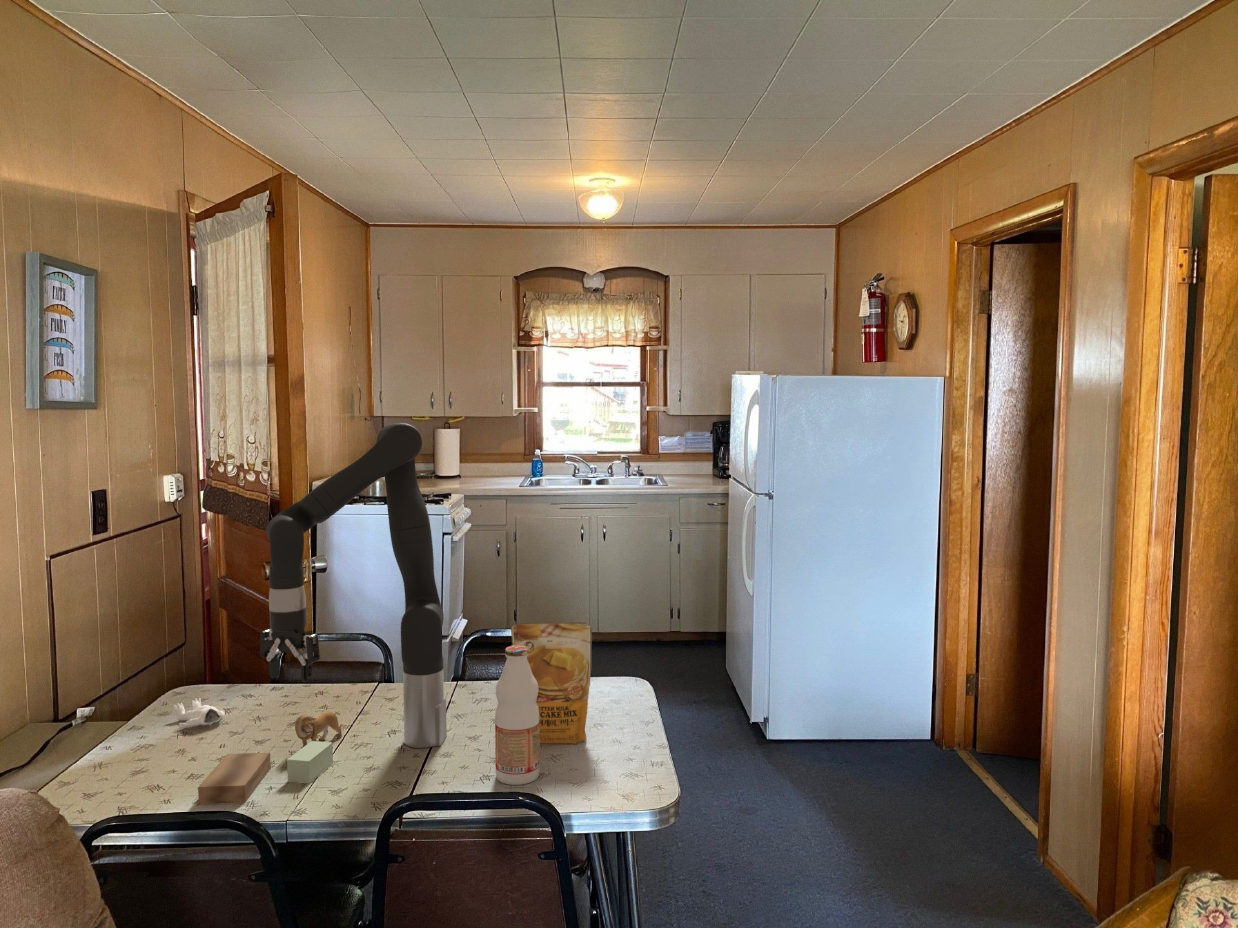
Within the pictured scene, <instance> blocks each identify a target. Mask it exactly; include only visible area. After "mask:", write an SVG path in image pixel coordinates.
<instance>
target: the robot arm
mask: <svg viewBox="0 0 1238 928" xmlns="http://www.w3.org/2000/svg"><path fill="white" fill-rule="evenodd" d="M422 438H423V437H422V435H421V433H420V432H419V430H418V429H417V428H416V427H415V426H414V425H411V424H409V423H404V422H394V423H388V424H387V425H385V426H383V428H381V430H380V431H379V432H378V435H377V437H376V442H375V444H374V445H373V446H372V447H371V448H370V449H369V450H368V451H366V452H365V453H364V454H363V455H362V456H361V457H359V458H358V459H356V460H355V461H354V462H352V463H351V464H349V465H348V466H346V467H344V468H343V469H341V470H339V471H338V472H336V473H335V474H332V475H331V476H330V477H328V478H327V479H326V480H324V481H323V482H321V483H319V485H317V486H316V487H315V488H314V489H312V490H310V492H308V493H306V495H305V496H304V497H303V498H301V499H300V500H298V501H296V502H295V503H293V504H291V505H290V506H288V507H286V508H285V509H284V510H282V511H280V512H279V513H278V514H276V515H275V516H274V517H272V519H271V520H270V521H269V522H268V524H267V526H266V530H265V532H266V537H267V539H268V540H269V547H270V564H269V570H268V575H269V593H268V608H269V628H267V629H265V630H262V631H261V632H260V633H259V657H260V658H262V659H263V658H264V659H266V661H267V663H268V673H269V676H270V678H272V679H275V678H278V677H280V675H281V671H280V659H279V657H280V656H281V654H282V653H284V654H285V653H287V654H291V655H293V656H294V657H295V658H296V659H298V661H299V662H300V664H301V665H300V675H301V682H303V683H306V682H309V681H310V680H311V679H312V677H313V663H315V662H319V661H320V660H321V658H320V656H321V655H320V645H319V635H318V634H317V633H313V634H307V633H306V631H305V630H306V627H307V597H306V590H305V579H304V577H305V575H304V563H303V561H304V551H305V550H304V549H305V533H306V532H308V531H309V530H310V529H312V528H313V527H314V526H316V525H318V524H322V523H324V522H325V521H327V520H328V519H330V518H331V517H333V516H334V515H335V514H336V513H337V512H338V511H340V510H341V509H343V508H344V507H345V506H346V505H347V504H349V503H350V502H352V500H354V499H355V498H356V497H357V496H359V495H360V494H361V493H362V492H363V491H365V490H366V489H367V488H369V486H372V484H373V483H375V482H377V481H378V480H379V479H381V478H382V477H384V482H385V491H386V505H387V506H386V508H387V516H388V518H387V519H388V527H389V534H390V541H391V547H392V550H393V556H394V558H395V560H396V564H397V566H398V568H399V571H400V574H401V578H402V581H403V589H404V600H405V601H404V606H405V607H404V614H403V615H402V618H401V621H400V646H401V647H400V648H401V649H400V650H401V652H400V653H401V662H402V667H403V668H402V672H403V673H402V676H403V677H402V680H403V681H402V685H403V689H402V690H403V723H404V724H403V736H404V738H403V739H404V741H403V742H404V744H405V745H406V746H407V747H410V748H414V749H415V748H416V749H425V748H433V747H436V746H437V747H439V746H442V745H443V742H444V741H445V739H446V738H447V735H448V734H447V697H445V696H444V694H445V691H444V688H445V687H444V656H443V634H442V632H443V631H442V630H443V624H444V620H445V619H444V612H443V608H442V604H441V600H440V596H439V592H438V588H437V583H436V579H435V567H434V566H435V562H434V561H435V559H434V548H433V547H434V546H433V536H432V535H433V534H432V528H431V527H432V526H431V523H430V522H431V521H430V517H429V516H430V515H429V513H428V509H427V506H426V503H425V500H424V497H423V494H422V492H421V490H420V487H419V483H418V478H417V471H416V470H417V469H416V457H418V455H419V454H420V452H421V450H422V447H423V439H422ZM273 642H274V643H273Z"/></svg>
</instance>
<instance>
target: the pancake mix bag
mask: <svg viewBox="0 0 1238 928" xmlns="http://www.w3.org/2000/svg"><path fill="white" fill-rule="evenodd" d="M510 634H511V646H514V645H521V646H526V647H528V651H529V653H528V656H527V660H528V663H529V666H530V668H531V671H532V674H533V676H534V677H535V679H536V680H537V683H538V688H539V691H538V696H537V700H536V702H537V705H538V708H539V740H540V745H541V746H548V745H549V746H551V745H552V746H553V745H554V746H555V745H561V746H562V745H565V746H567V745H568V746H569V745H578V744H579V743H581V742H586V741H588V740H587V734H586V725H587V723H586V722H587V716H588V708H589V707H588V705H589V694H590V685H591V673H592V650H593V649H592V645H593V643H592V642H593V630H592V626H591V625H587V622H581V621H579V622H577V621H576V622H551V621H550V622H526V623H525V622H524V623H523V622H522V623H516V624H514V625H512V626H511V627H510Z"/></svg>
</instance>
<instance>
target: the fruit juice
mask: <svg viewBox="0 0 1238 928" xmlns="http://www.w3.org/2000/svg"><path fill="white" fill-rule="evenodd" d="M528 653H529V651H528V647H526V646H521V645H514V646H512V645H510V646H507V647H506V648H505V650H504V654H505V658H506V660H505V664H504V667H503V670H502V674H501V676H500V677H499V679H498V680H497V682H496V685H495V697H496V699H497V705H496V708H495V715H494V718H495V719H494V727H495V728H494V731H495V733H494V735H495V736H494V738H495V741H494V743H495V745H494V746H495V747H494V749H495V750H494V751H495V755H494V757H495V759H494V761H495V776H496V779H497V780H498V781H499V782H500V783H502V784H505V785H509V786H519V785H526V784H529V783H532V782H534V781H536V780H537V779H538V777H539V776H540V772H541V771H540V767H541V766H540V763H541V762H540V759H541V758H540V756H541V755H540V754H541V753H540V751H541V750H540V749H541V748H540V740H539V708H538V705H537V702H536V700H537V696H538V691H539V688H538V683H537V680H536V679H535V677H534V676H533V674H532V671H531V668H530V666H529V663H528V660H527V656H528Z"/></svg>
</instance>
